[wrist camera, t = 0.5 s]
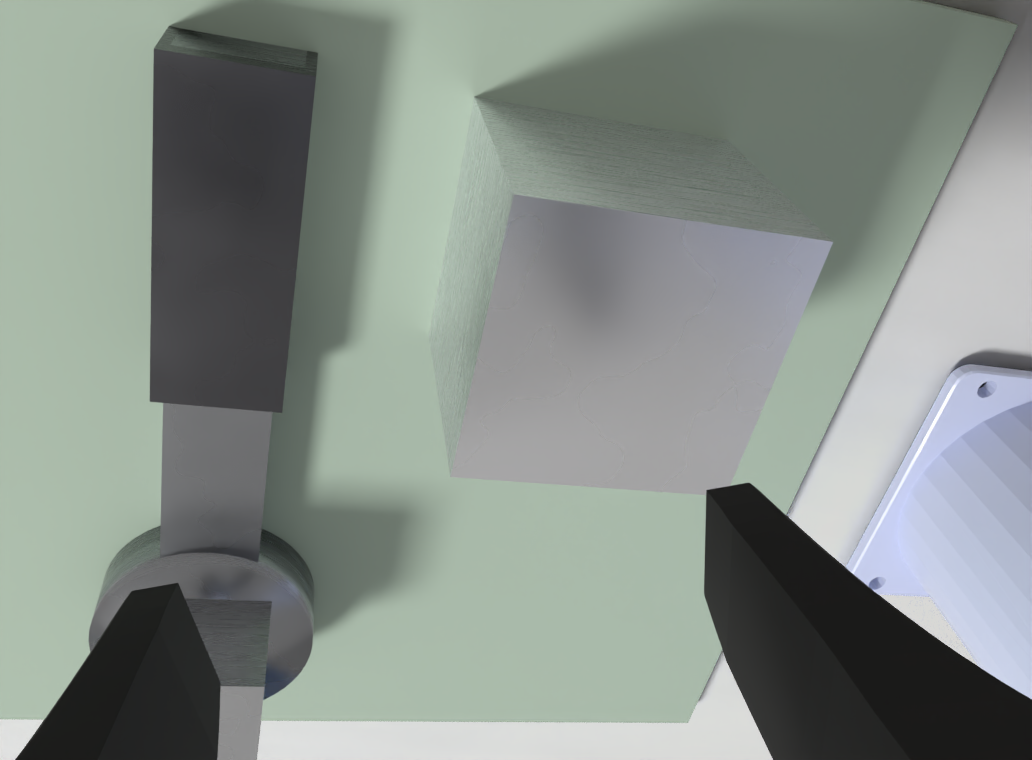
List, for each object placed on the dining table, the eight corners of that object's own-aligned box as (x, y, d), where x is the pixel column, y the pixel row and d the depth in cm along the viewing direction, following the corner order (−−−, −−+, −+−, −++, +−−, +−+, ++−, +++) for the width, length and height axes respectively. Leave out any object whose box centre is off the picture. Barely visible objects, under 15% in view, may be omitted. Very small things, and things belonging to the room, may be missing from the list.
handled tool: (388, 65, 17) (400, 136, 14) (305, 664, 26) (298, 799, 22) (89, 12, 16) (22, 76, 13) (104, 661, 25) (66, 803, 21)
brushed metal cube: (727, 140, 19) (833, 242, 15) (653, 360, 22) (725, 496, 18) (474, 96, 18) (513, 194, 14) (429, 335, 21) (450, 477, 17)
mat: (1000, 18, 19) (1017, 25, 19) (682, 707, 31) (687, 722, 30) (-551, -334, 13) (-586, -338, 13) (-234, 698, 24) (-247, 717, 24)
